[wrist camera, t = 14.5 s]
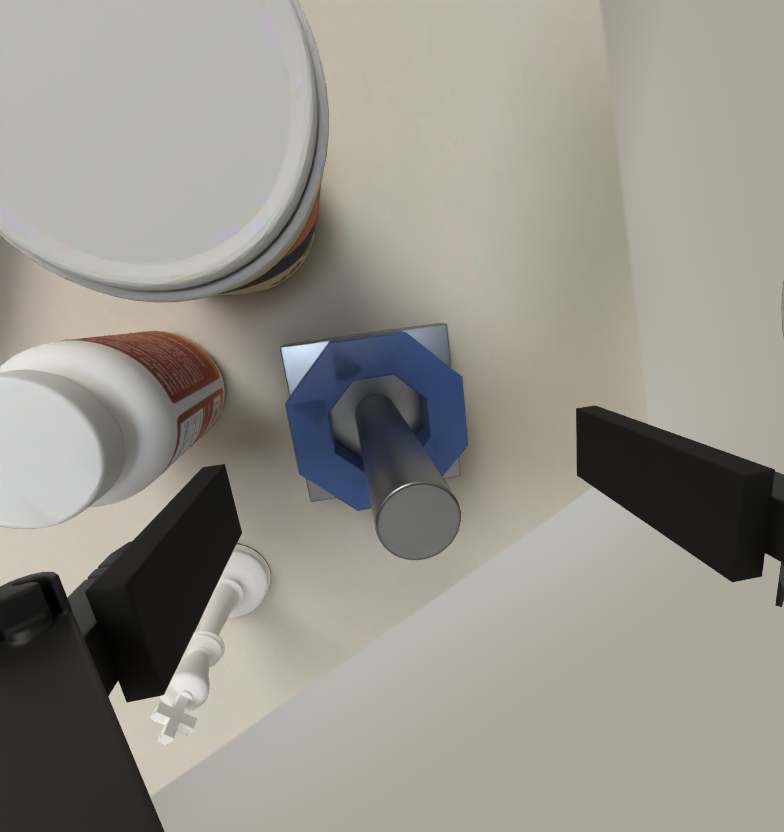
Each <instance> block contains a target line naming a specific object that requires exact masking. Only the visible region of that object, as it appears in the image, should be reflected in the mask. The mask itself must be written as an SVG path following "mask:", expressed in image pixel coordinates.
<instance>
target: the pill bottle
mask: <svg viewBox="0 0 784 832" xmlns="http://www.w3.org/2000/svg"><path fill="white" fill-rule="evenodd" d="M224 398H225V389H224V383H223V379H222V376H221V373H220V371H219V369H218V367H217V365H216V364H215V362H214V361H213V360H212V358H211V357H210V356H209V355H208V354H207V353H206V352H205V351H204V350H203V349H202V348H201V347H200V346H198V345H197V344H196V343H194V342H192V341H191V340H189V339H187V338H184V337H182V336H180V335H176V334H173V333H168V332H158V331H149V332H138V333H129V334H120V335H110V336H101V337H91V338H82V339H73V340H62V341H58V342H53V343H47V344H43V345H39V346H35V347H33V348H30V349H27V350H25V351H23V352H20V353H19V354H17V355H15V356H13V357H12V358H10V359H9V360H8V361H6V362H5V363H4V364H3V365H1V366H0V526H3V527H8V528H15V529H38V528H45V527H50V526H54V525H57V524H60V523H63V522H65V521H67V520H69V519H71V518H73V517H75V516H77V515H78V514H80V513H81V512H83V511H84V510H85V509H87V508H88V507H98V506H104V505H109V504H113V503H117V502H120V501H122V500H125V499H127V498H129V497H132V496H134V495H135V494H137V493H139V492H140V491H142V490H143V489H145V488H146V487H147V486H149V485H150V484H151V483H152V482H153V481H154V480H156V479H157V478H158V477H159V476H160V475H161V474H162V473H163V472H164V471H165V470H166V469H167V468H168V467H169V466H170V465H171V464H173V463H174V462H175V461H176V460H177V459H178V458H179V457H180V456H181V455H182V454H183V453H184V452H185V451H186V450H188V449H189V448H190V447H191V446H192V445H193V444H194V443H195V442H196V441H197V440H198V439H199V438H200V437H201V436H202V435H204V434H205V433H206V432H207V431H208V430H209V429H210V428H211V427H212V426H213V425H214V423H215V422H216V421H217V419H218V417H219V415H220V413H221V411H222V408H223V404H224Z"/></svg>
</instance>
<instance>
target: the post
mask: <svg viewBox="0 0 784 832" xmlns="http://www.w3.org/2000/svg"><path fill="white" fill-rule="evenodd" d="M393 331H403V332H406V333H408V334H409V335H410V336H412V337H413V338H414V339H415V340H417V341H418V342H419V343H420V344H422V345H423V346H424V347H425V348H427V349H428V350H429V351H430V352H432V353H433V354H434V355H435V356H437V357H438V358H439V359H440V360H442V361H443V362H444V363H445V364H447V365H448V366H449V367H450V368H451V363H450V351H449V340H448V329H447V324H444V323H437V324H430V325H423V326H415V327H408V328H401V329H394V330H386V331H379V332H372V333H365V334H357V335H350V336H343V337H336V338H328V339H321V340H314V341H307V342H299V343H292V344H285V345H283V346H281V347H280V351H281V356H282V361H283V366H284V371H285V376H286V381H287V386H288V391H289V396H290V395H291V394H292V392H293V391H294V389H295V388H296V387H297V385H298V384H299V383H300V381H301V380H302V378H303V377H304V376H305V374H306V373H307V372H308V370H309V369H310V367H311V366H312V365H313V363H314V362H315V361H316V359H317V358H318V356H319V355H320V354H321V352H322V351H323V349H324V348H325V347H326V345H327V344H328V343H329V341H330V340H335V339H342V338H349V337H357V336H364V335H371V334H378V333H386V332H393ZM330 413H331V419H332V425H333V430H334V436H335V441H336V442H337V443H339V444H340V445H341V446H343V447H344V448H346V449H347V450H349V451H350V452H352V453H353V454H355V455H356V456H358V457H359V458H361V459H362V460H363V463H364V469H365V474H366V480H367V485H368V490H369V496H370V501H371V507H372V512H373V518H374V523H375V529H376V533H377V536H378V538H379V540H380V542H381V543H382V545H383V546H384V547H385V548H386V549H387V550H388V551H389V552H391V553H392V554H394V555H396V556H398V557H400V558H404V559H408V560H421V559H426V558H430V557H432V556H435V555H437V554H439V553H440V552H442V551H443V550H444V549H446V548H447V547H448V546H449V545H450V544H451V543H452V541H453V540H454V538H455V537H456V535H457V533H458V530H459V527H460V522H461V511H460V506H459V503H458V501H457V499H456V497H455V496H454V494H453V493H452V491H451V490H450V488H449V487H448V485H447V484H446V482H445V480H444V479H445V478H451V477H456V476H460V475H461V473H460V462H459V457H458V458H457V459H456V461H455V462H454V463H453V464H452V466H451V467H450V468H449V469H448V471H447V472H446V473H445V474H444V476H443V477H442V476H441V474H440V473H439V471H438V470H437V468H436V467H435V465H434V464H433V462H432V461H431V459H430V458H429V456H428V454H427V453H426V451H425V450H424V448H423V447H422V445H421V444H420V442H419V441H418V439H417V438H416V435H417V434H418V433H419V431H420V430H421V429H422V428H423V426H422V417H421V408H420V399H419V393H418V392H417V391H415V390H414V389H413V388H411V387H410V386H409V385H407V384H406V383H405V382H403V381H402V380H401V379H399V378H398V377H397V376H395V375H388V376H382V377H375V378H368V379H362V380H355V381H353V382H352V383H351V384H350V386H349V387H348V388H347V390H346V391H345V392H344V394H343V395H342V396H341V398H340V399H339V400H338V402H337V403H336V404H335V406H334V407H333V408H332V410H331V411H330ZM306 481H307V486H308V491H309V496H310V501H311V502H315V501H321V500H326V499H332V498H337V497H335V496H334V495H332V494H330V493H329V492H327V491H326V490H324V489H323V488H321V487H319V486H318V485H316V484H315V483H313V482H311V481H310V480H308V479H307V478H306Z"/></svg>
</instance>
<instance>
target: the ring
mask: <svg viewBox="0 0 784 832" xmlns="http://www.w3.org/2000/svg"><path fill="white" fill-rule="evenodd" d="M388 375H395V376H397V377H398V378H399V379H401V380H402V381H403V382H405V383H406V384H407V385H409V386H410V387H411V388H413V389H414V390H415V391H417V392H418V393H419V399H420V408H421V417H422V426H423V428H422V429H421V430H420V431H419V433H418V434H417V435H416V438H417V439H418V441H419V442H420V444H421V445H422V447H423V448H424V450H425V451H426V453H427V454H428V456H429V458H430V459H431V461H432V462H433V464H434V465H435V467H436V468H437V470H438V471H439V473H440V474H441V476H442V477H443V476H444V474H445V473H446V472H447V471H448V469H449V468H450V467H451V466H452V464H453V463H454V462H455V461H456V459H457V458H458V457H459V456H460V454H461V453H462V452H463V451H464V449H465V448H466V447H467V446H468V440H467V428H466V416H465V404H464V392H463V380H462V376H460V375H459V374H458V373H457V372H455V371H454V370H453V369H452V368H450V367H449V366H448V365H447V364H445V363H444V362H443V361H442V360H440V359H439V358H438V357H437V356H435V355H434V354H433V353H432V352H430V351H429V350H428V349H427V348H425V347H424V346H423V345H422V344H420V343H419V342H418V341H417V340H415V339H414V338H413V337H412V336H410V335H409V334H408V333H406V332H403V331H393V332H386V333H378V334H371V335H364V336H357V337H349V338H342V339H335V340H330V341H329V343H328V344H327V345H326V347H325V348H324V349H323V351H322V352H321V354H320V355H319V356H318V358H317V359H316V361H315V362H314V363H313V365H312V366H311V367H310V369H309V370H308V372H307V373H306V374H305V376H304V377H303V378H302V380H301V381H300V383H299V384H298V385H297V387H296V388H295V389H294V391H293V392H292V394H291V395H290V396H289V398H288V400H287V402H286V403H285V406H286V411H287V415H288V420H289V425H290V430H291V435H292V440H293V445H294V450H295V455H296V460H297V465H298V470H299V474H300V475H302V476H303V477H305V478H307V479H308V480H310V481H311V482H313V483H315V484H316V485H318V486H319V487H321V488H323V489H324V490H326V491H327V492H329V493H330V494H332V495H334V496H335V497H337V498H338V499H340V500H342V501H343V502H345V503H346V504H348V505H350V506H351V507H353V508H354V509H356V510H357V511H359V510H364V509H370V508H372V507H371V501H370V496H369V490H368V485H367V480H366V474H365V469H364V463H363V460H362V459H361V458H359V457H358V456H356V455H355V454H353V453H352V452H350V451H349V450H347V449H346V448H344V447H343V446H341V445H340V444H339V443H337V442H336V441H335V436H334V430H333V425H332V419H331V413H330V411H331V410H332V408H333V407H334V406H335V404H336V403H337V402H338V400H339V399H340V398H341V396H342V395H343V394H344V392H345V391H346V390H347V388H348V387H349V386H350V384H351V383H352V382H353V381H355V380H362V379H368V378H375V377H382V376H388Z"/></svg>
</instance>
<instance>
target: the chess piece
mask: <svg viewBox="0 0 784 832" xmlns="http://www.w3.org/2000/svg"><path fill="white" fill-rule="evenodd" d="M270 582H271V574H270V570H269V567H268V565H267V563H266V561H265V560H264V559H263V557H262V556H261V555H260V554H258V553H257V552H256V551H254V550H253V549H251V548H248V547H246V546H243V545H238V544H236V546H235V548H234V550H233V552H232V555H231V557H230V559H229V561H228V563H227V565H226V567H225V569H224V571H223V573H222V575H221V577H220V580H219V582H218V584H217V586H216V588H215V590H214V592H213V594H212V596H211V598H210V600H209V602H208V605H207V607H206V609H205V611H204V613H203V616H202V619H201V623H200V626H199V629H198V631H195V632H194V634H193V636H192V638H191V640H190V642H189V644H188V646H187V648H186V650H185V652H184V654H183V657H182V659H181V661H182V662H181V663H180V665H179V666H178V667H177V669H176V671H175V673H174V675H173V677H172V679H171V682H170V684H169V686H168V688H167V690H166V692H165V694H164V695H162V696H160V698H161V700H162V702H160V703H159V704H158V705H157V706H156V708H155V709H154V711H153V713H152V715H151V717H150V719H151V720H153V721H155V722H157V723H160V724H162V725H164V726H163V728H162V731H161V733H160V736H159V738H158V740H157V741H158V742H160V743H162V744H164V745H168V744H169V743H170V742H171V741H172V740H173V738H174V736H175V733H176V731H177V732H179V733H181V734H184V735H186V736H187V735H188V734H189V733H190V732H191V731H192V730H193V728H194V725H195V722H196V718H194V717H192V716H190V715H188V714H186V713H184V712H186V711H191V710H194V709H196V708H198V707H199V706H201V705H202V704H203V703H204V702H205V700H206V699H207V697H208V694H209V675H208V673H209V667H212V666H213V665H215V664H216V663H217V662H218V661H219V660H220V659H221V657H222V656H223V654H224V650H225V646H224V642H223V640H222V639H221V638H220V637H219V636H218V635H219V633H220V631H221V629H222V628H223V626H224V624H225V622H226V620H227V618H235V617H239V616H243V615H245V614H247V613H249V612H251V611H253V610H254V609H255V608H256V607H258V606H259V605H260V603H261V602H262V601H263V599H264V597H265V595H266V593H267V591H268V589H269V586H270Z"/></svg>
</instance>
